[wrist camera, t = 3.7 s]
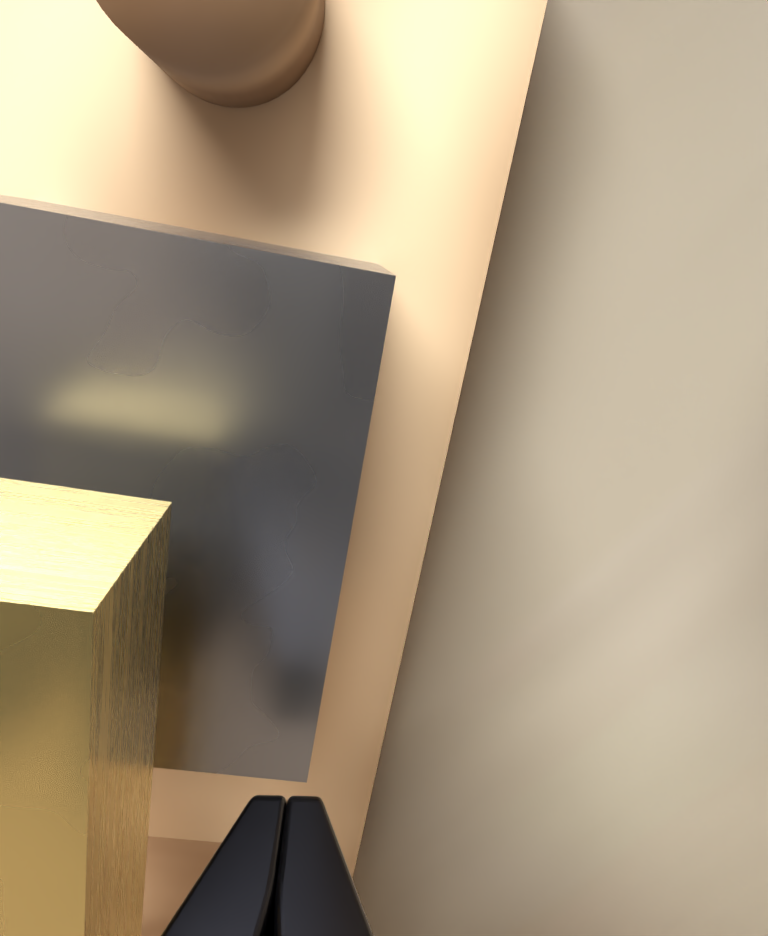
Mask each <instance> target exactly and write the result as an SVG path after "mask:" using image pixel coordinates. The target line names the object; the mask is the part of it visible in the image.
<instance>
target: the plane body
mask: <svg viewBox="0 0 768 936" xmlns="http://www.w3.org/2000/svg"><path fill="white" fill-rule="evenodd" d="M546 5H547V0H0V195H6V196H13V197H19V198H26V199H33V200H38V201H44V202H49V203H55V204H60V205H65V206H71V207H76V208H81V209H87V210H92V211H97V212H103V213H108V214H113V215H119V216H124V217H130V218H135V219H140V220H146V221H151V222H156V223H162V224H167V225H172V226H178V227H183V228H188V229H194V230H199V231H205V232H210V233H215V234H221V235H226V236H231V237H237V238H242V239H247V240H253V241H258V242H263V243H269V244H274V245H280V246H285V247H290V248H296V249H301V250H306V251H312V252H317V253H322V254H328V255H333V256H339V257H344V258H349V259H355V260H360V261H365V262H371V263H376V264H379V265H381V266H382V267H384V268H385V269H387V270H388V271H390V272H391V273H393V274H394V275H396V279H395V285H394V291H393V296H392V302H391V308H390V313H389V319H388V325H387V330H386V336H385V342H384V347H383V353H382V359H381V364H380V370H379V376H378V381H377V387H376V393H375V398H374V404H373V410H372V415H371V421H370V427H369V432H368V438H367V444H366V449H365V455H364V461H363V466H362V472H361V478H360V483H359V489H358V495H357V500H356V506H355V512H354V518H353V523H352V529H351V535H350V540H349V546H348V552H347V557H346V563H345V569H344V574H343V580H342V586H341V591H340V597H339V603H338V608H337V614H336V620H335V625H334V631H333V637H332V642H331V648H330V654H329V659H328V665H327V671H326V676H325V682H324V688H323V693H322V699H321V705H320V710H319V716H318V722H317V727H316V733H315V739H314V744H313V750H312V756H311V761H310V767H309V773H308V778H307V783H306V782H295V781H285V780H275V779H265V778H255V777H245V776H234V775H224V774H214V773H204V772H194V771H184V770H173V769H163V768H153V775H152V789H151V803H150V817H149V831H148V845H147V859H146V873H145V887H144V901H143V915H142V930H141V936H161V935H162V933H163V931H164V930H165V928H166V927H167V925H168V924H169V922H170V921H171V919H172V918H173V916H174V915H175V913H176V912H177V910H178V909H179V907H180V906H181V904H182V902H183V901H184V899H185V898H186V896H187V895H188V893H189V892H190V890H191V889H192V887H193V886H194V884H195V883H196V881H197V880H198V878H199V876H200V875H201V873H202V872H203V870H204V869H205V867H206V866H207V864H208V863H209V861H210V860H211V858H212V857H213V855H214V854H215V852H216V851H217V849H218V847H219V846H220V844H221V843H222V841H223V840H224V838H225V837H226V835H227V834H228V832H229V831H230V829H231V828H232V826H233V825H234V823H235V822H236V820H237V818H238V817H239V815H240V814H241V812H242V811H243V809H244V808H245V806H246V805H247V803H248V802H249V800H250V799H251V798H252V797H254V796H255V795H281V796H283V797H285V799H286V801H287V800H288V799H289V798H290V797H291V796H317V797H320V798H321V799H322V801H323V802H324V805H325V807H326V810H327V813H328V815H329V818H330V821H331V823H332V826H333V829H334V831H335V834H336V837H337V839H338V842H339V845H340V847H341V850H342V853H343V855H344V858H345V861H346V863H347V866H348V869H349V871H350V874H351V877H352V879H353V874H354V870H355V865H356V861H357V856H358V852H359V847H360V843H361V838H362V834H363V829H364V825H365V820H366V816H367V811H368V807H369V802H370V798H371V793H372V789H373V784H374V780H375V775H376V771H377V766H378V761H379V757H380V752H381V748H382V743H383V739H384V734H385V730H386V725H387V721H388V716H389V712H390V707H391V703H392V698H393V694H394V689H395V685H396V680H397V676H398V671H399V667H400V662H401V658H402V653H403V649H404V644H405V640H406V635H407V631H408V626H409V622H410V617H411V613H412V608H413V604H414V599H415V595H416V590H417V586H418V581H419V577H420V572H421V568H422V563H423V559H424V554H425V550H426V545H427V541H428V536H429V532H430V527H431V523H432V518H433V514H434V509H435V505H436V500H437V496H438V491H439V487H440V482H441V478H442V473H443V469H444V464H445V460H446V455H447V451H448V446H449V442H450V437H451V433H452V428H453V424H454V419H455V415H456V410H457V406H458V401H459V397H460V392H461V388H462V383H463V379H464V374H465V370H466V365H467V361H468V356H469V352H470V347H471V343H472V338H473V334H474V329H475V325H476V320H477V316H478V311H479V307H480V302H481V298H482V293H483V289H484V284H485V280H486V275H487V271H488V266H489V262H490V257H491V253H492V248H493V244H494V239H495V235H496V230H497V226H498V221H499V217H500V212H501V208H502V203H503V199H504V194H505V190H506V185H507V181H508V176H509V172H510V167H511V163H512V158H513V154H514V149H515V145H516V140H517V136H518V131H519V127H520V122H521V118H522V113H523V109H524V104H525V100H526V95H527V91H528V86H529V81H530V77H531V72H532V68H533V63H534V59H535V54H536V50H537V45H538V41H539V36H540V32H541V27H542V23H543V18H544V14H545V9H546Z"/></svg>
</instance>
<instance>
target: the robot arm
mask: <svg viewBox="0 0 768 936" xmlns="http://www.w3.org/2000/svg"><path fill="white" fill-rule="evenodd" d="M161 936H374V935H373V933H372V930H371V927H370V925H369V922H368V919H367V917H366V914H365V911H364V909H363V906H362V903H361V901H360V898H359V895H358V893H357V890H356V887H355V885H354V882H353V879H352V877H351V874H350V871H349V869H348V866H347V863H346V861H345V858H344V855H343V853H342V850H341V847H340V845H339V842H338V839H337V837H336V834H335V831H334V829H333V826H332V823H331V821H330V818H329V815H328V813H327V810H326V807H325V805H324V802H323V801H322V799H321V798H320V797H317V796H291V797H290V798H289V799H288V800H287V801H286V799H285V797H283V796H281V795H255V796H254V797H252V798H251V799H250V800H249V802H248V803H247V805H246V806H245V808H244V809H243V811H242V812H241V814H240V815H239V817H238V818H237V820H236V822H235V823H234V825H233V826H232V828H231V829H230V831H229V832H228V834H227V835H226V837H225V838H224V840H223V841H222V843H221V844H220V846H219V847H218V849H217V851H216V852H215V854H214V855H213V857H212V858H211V860H210V861H209V863H208V864H207V866H206V867H205V869H204V870H203V872H202V873H201V875H200V876H199V878H198V880H197V881H196V883H195V884H194V886H193V887H192V889H191V890H190V892H189V893H188V895H187V896H186V898H185V899H184V901H183V902H182V904H181V906H180V907H179V909H178V910H177V912H176V913H175V915H174V916H173V918H172V919H171V921H170V922H169V924H168V925H167V927H166V928H165V930H164V931H163V933H162V935H161Z"/></svg>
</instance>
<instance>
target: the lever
mask: <svg viewBox="0 0 768 936" xmlns="http://www.w3.org/2000/svg"><path fill="white" fill-rule="evenodd" d="M171 507H172V502H168V501H161V500H154V499H147V498H140V497H133V496H126V495H119V494H112V493H105V492H97V491H90V490H83V489H76V488H69V487H62V486H55V485H48V484H41V483H34V482H27V481H20V480H13V479H6V478H0V936H141V930H142V915H143V901H144V887H145V873H146V859H147V845H148V831H149V817H150V803H151V789H152V775H153V761H154V746H155V732H156V718H157V704H158V690H159V676H160V662H161V648H162V634H163V620H164V606H165V592H166V577H167V563H168V549H169V535H170V521H171Z"/></svg>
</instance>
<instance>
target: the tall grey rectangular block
mask: <svg viewBox="0 0 768 936" xmlns="http://www.w3.org/2000/svg"><path fill="white" fill-rule="evenodd" d="M395 279H396V275H394V274H393V273H391V272H390V271H388V270H387V269H385V268H384V267H382V266H381V265H379V264H376V263H371V262H365V261H360V260H355V259H349V258H344V257H339V256H333V255H328V254H322V253H317V252H312V251H306V250H301V249H296V248H290V247H285V246H280V245H274V244H269V243H263V242H258V241H253V240H247V239H242V238H237V237H231V236H226V235H221V234H215V233H210V232H205V231H199V230H194V229H188V228H183V227H178V226H172V225H167V224H162V223H156V222H151V221H146V220H140V219H135V218H130V217H124V216H119V215H113V214H108V213H103V212H97V211H92V210H87V209H81V208H76V207H71V206H65V205H60V204H55V203H49V202H44V201H38V200H33V199H26V198H19V197H13V196H6V195H0V478H6V479H13V480H20V481H27V482H34V483H41V484H48V485H55V486H62V487H69V488H76V489H83V490H90V491H97V492H105V493H112V494H119V495H126V496H133V497H140V498H147V499H154V500H161V501H168V502H172V507H171V521H170V535H169V549H168V563H167V577H166V592H165V606H164V620H163V634H162V648H161V662H160V676H159V690H158V704H157V718H156V732H155V746H154V761H153V768H163V769H173V770H184V771H194V772H204V773H214V774H224V775H234V776H245V777H255V778H265V779H275V780H285V781H295V782H306V783H307V778H308V773H309V767H310V761H311V756H312V750H313V744H314V739H315V733H316V727H317V722H318V716H319V710H320V705H321V699H322V693H323V688H324V682H325V676H326V671H327V665H328V659H329V654H330V648H331V642H332V637H333V631H334V625H335V620H336V614H337V608H338V603H339V597H340V591H341V586H342V580H343V574H344V569H345V563H346V557H347V552H348V546H349V540H350V535H351V529H352V523H353V518H354V512H355V506H356V500H357V495H358V489H359V483H360V478H361V472H362V466H363V461H364V455H365V449H366V444H367V438H368V432H369V427H370V421H371V415H372V410H373V404H374V398H375V393H376V387H377V381H378V376H379V370H380V364H381V359H382V353H383V347H384V342H385V336H386V330H387V325H388V319H389V313H390V308H391V302H392V296H393V291H394V285H395Z"/></svg>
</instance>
